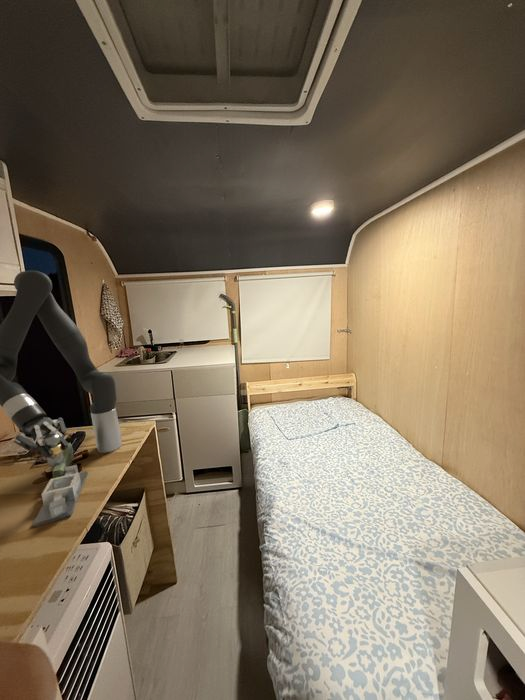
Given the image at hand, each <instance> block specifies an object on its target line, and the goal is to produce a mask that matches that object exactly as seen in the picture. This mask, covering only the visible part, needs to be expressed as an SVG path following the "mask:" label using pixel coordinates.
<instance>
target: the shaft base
mask: <svg viewBox="0 0 525 700" xmlns="http://www.w3.org/2000/svg"><path fill="white" fill-rule="evenodd" d="M88 474H89V473H88V470H87V471H82V472H81V471H80V472H79V470H78V464H73V465H72V464H71V466H68V467H65V469H64V476H61V477H57V478H53V477H52V478H50V480H49V481H48V482H47V484H46V487H45V488H44V490H43V491H42V493H41V497H42V498H41V500H42V503H43V504H42V507H40V510H39V511H38V513H37V515H36V517H35V518H34V520H33V523H32V526H33V527H34V528H35V527H38V526H41V525H45V524H49V523H52V522H56V521H59V520H64V519H67V518H71V517H72V514H73V512H74V510H75V507H76V504H77V502H78V499H79V498H80V494H81V492H82V489H83V487H84V485H85V481H86V479H87V477H88Z"/></svg>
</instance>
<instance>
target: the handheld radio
mask: <svg viewBox="0 0 525 700" xmlns="http://www.w3.org/2000/svg"><path fill="white" fill-rule="evenodd" d="M73 449H74V448H73V443H72V444H71V442H68V447H67V449H65V450H63V449H62V451H63V456H64V462H63V463H62V464H60V465H57V466H54V467H53V469H52V479H53V478H57V477H61V476H64V469H65V467H68V466H69V465H70V463H71V462H72V460H73V461H74V459H73V457H74V454H73ZM74 458H75V457H74ZM72 463H73V462H72Z"/></svg>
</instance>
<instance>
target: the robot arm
mask: <svg viewBox="0 0 525 700" xmlns="http://www.w3.org/2000/svg"><path fill="white" fill-rule="evenodd" d="M13 285H14V288H15V289H16V293H15V298H14V301H13V303H12V306H11V308H10V310H9V312H8V314H7V315H6V317H5V318H4V320H3V321H2V322H1V324H0V406H1V408H2V409H3V411H4V412H5V413H6V415H7V416H8V419H10V420H11V422H13V424H14V426H16V427H17V428H18V430H20V431H21V432H20V434H16V436H15V438H14V439H13V443H15V444H16V445H18V446H20V447H22V448H24V449H25V450H27V451H29V452H33V451H39V452H40V454H41V455H43V457H44V458H47V457H48V458H50V457H52V455H53V452H52V451H51V450H50V449H49V448H48V446H47V445H44V441H43V438H44V437H45V436H47V435H50V434H54V433H58V434H59V436H60V441H61V446H62V451H63V450H65V449H67V447H68V443H69V442H68V441H67V440H66V438H64V436H65V435H66V433H67V427H66V424H65V422H64V418H62V417H58V419H52V418H51V417H49V416H48V415H47V413H46V412H45V411H44V410H43V408H42V407H41V406H40V405H39V404H38V402H37V401H36V400H35V399H34V398H33V397H32V396H31V395H30V394H28V391H26V390H25V388H24V387H23V386H22V385H21V384H19V383H17V382H15V381H13V380H14V378H15V376H16V373H17V367H18V366H17V364H18V354H19V352H20V350H21V348H22V345H23V343H24V341H25V339H26V337H27V334H28V331H29V329H30V327H31V324H32V322H33V320H34V318H35V316H37V317H38V319H39V321H40V322H41V324H42V326H43V328H44V330H45V331H46V333H47V335H48V336H49V337H50V339H51V341H52V343H53V344H54V345H55V346H56V348H57V350H58V351H59V352H60V353H61V355H62V356H63V358H64V359H65V360H66V362H67V364H69V366H70V367H71V368H72V370H73V372H74V374H75V376H76V377H77V379H78V381H79V383H80V386H81V387H82V388H83V390H84V391H85V392H86V393H88V394H92V400H93V402H92V403H91V404H90V406H89V411H90V416H91V420H92V421H91V422H92V428H93V434H94V439H95V444H96V450H97V452H98V453H100V454H101V453H102V454H106V453H111V452H114V451H116V450H117V449H119V448H120V447H122V444H123V443H122V442H123V440H122V433H121V428H120V422H119V419H118V418H119V417H118V412H117V405H116V404H117V403H116V402H117V391H116V390H117V389H116V383H115V379H114V377H113V376H112V374H110V373H107V372H103V371H100V370H99V369H98V368H97V367H96V365H95V364H94V363H93V361H92V360H91V358H90V354H89V348H88V344H87V341H86V338H85V337H84V335H83V334H82V332H81V331H80V329H79V328H78V326H77V325H76V324H75V322H74V321H73V319H71V317H70V316H69V315H68V314H67V313H66V312H65V311H64V310H63V309H62V308H61V306H60V305H59V304H58V303H57V301H56V299H55V297H54V295H53V293H52V290H53V282H52V280H51V278H50V277H49V276H48V275H47V274H45V273H43V272H41V271H39V270H24V271H20V272H19V273H17V274H16V276H15V278H14V280H13ZM53 425H54V426H53ZM28 438H29V439H28ZM30 438H31V439H32V441H31V440H30Z"/></svg>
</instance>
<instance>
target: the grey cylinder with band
mask: <svg viewBox="0 0 525 700" xmlns="http://www.w3.org/2000/svg"><path fill="white" fill-rule="evenodd" d="M43 441H44V445H47V446H48V448H49V449H50V450H51V451H52V452H53V455H52V457H50V458H48V457H46V461H47V465H48V466H49V468H54V467H55V466H57V465H60V464H62V463H63V462H64V456H63V449H62V446H61V441H60V436H59V434H58V433H54V434H50V435H47V436H43Z"/></svg>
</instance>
